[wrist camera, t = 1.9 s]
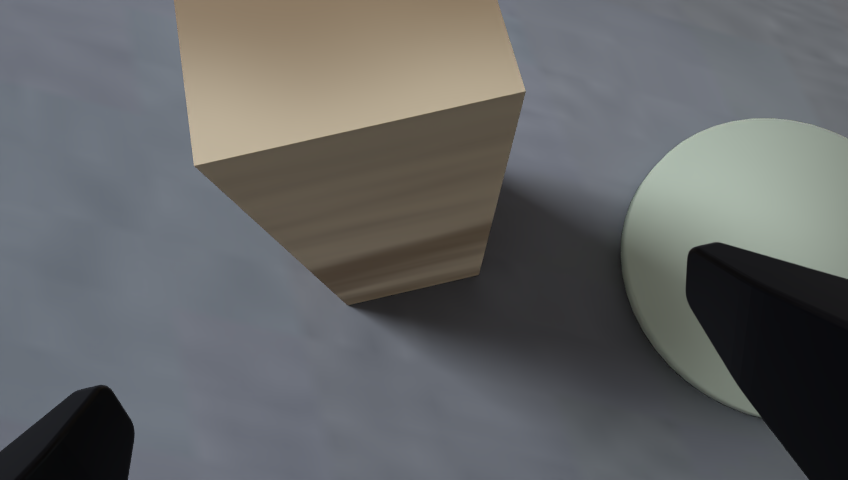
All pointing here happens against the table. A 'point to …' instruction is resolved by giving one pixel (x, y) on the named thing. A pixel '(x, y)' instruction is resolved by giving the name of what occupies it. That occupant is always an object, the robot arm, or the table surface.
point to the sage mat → (731, 227)
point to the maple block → (356, 130)
